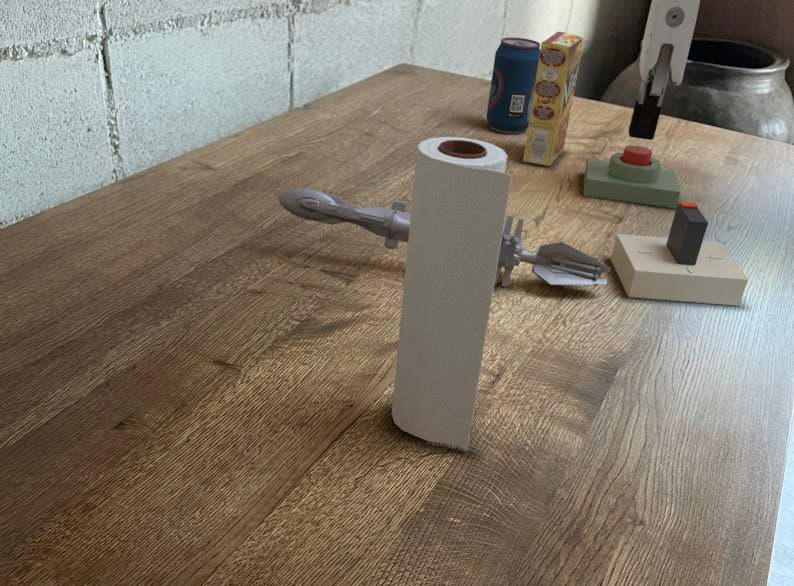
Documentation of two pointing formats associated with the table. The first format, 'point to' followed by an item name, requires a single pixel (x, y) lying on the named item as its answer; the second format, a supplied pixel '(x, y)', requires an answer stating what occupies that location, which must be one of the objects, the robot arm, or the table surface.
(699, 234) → the hob knob
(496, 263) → the paper towel roll
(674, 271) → the panel
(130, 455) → the table surface
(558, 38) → the candy box
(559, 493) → the table surface
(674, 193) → the switch box
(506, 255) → the spaceship
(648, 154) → the red push button
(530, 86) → the soda can
